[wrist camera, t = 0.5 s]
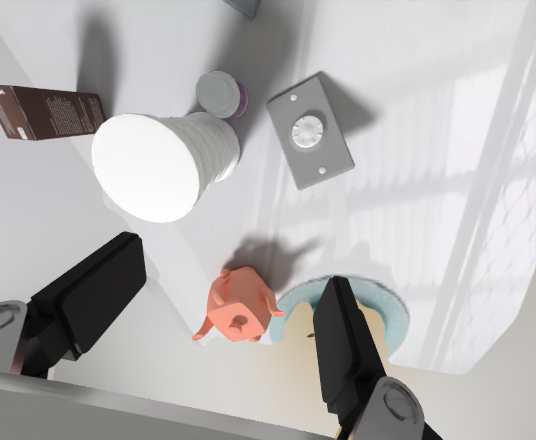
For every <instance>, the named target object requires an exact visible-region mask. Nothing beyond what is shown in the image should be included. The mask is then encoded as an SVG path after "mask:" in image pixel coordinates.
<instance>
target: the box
mask: <svg viewBox="0 0 536 440" xmlns="http://www.w3.org/2000/svg"><path fill="white" fill-rule="evenodd" d="M104 122H106V120H105V117H104V114H103V110H102V107H101V104H100V101H99V97H98V94H89V93H80V92H70V91H60V90H49V89H39V88H29V87H20V86H7V85H0V124H1V126H2V128H3V130H4V132H5V133H6V136H7V137H8V138H9V139H22V140H34V141H38V140H45V139H53V138H62V137H71V136H79V135H88V134H96V132H97V130H98V129H99V127H100V126H101V124H103V123H104Z"/></svg>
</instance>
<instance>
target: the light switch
mask: <svg viewBox="0 0 536 440" xmlns="http://www.w3.org/2000/svg"><path fill="white" fill-rule="evenodd" d="M266 107H267V110H268V112H269V115H270V118H271V120H272V123H273V125H274V128H275V131H276V133H277V136H278V139H279V141H280V144H281V147H282V149H283V152H284V155H285V157H286V160H287V163H288V165H289V168H290V171H291V173H292V176H293V178H294V181H295V184H296V186H297V189H298V190H303V189H305V188H308V187H310V186H312V185H315V184H317V183H320V182H322V181H325V180H327V179H330V178H332V177H334V176H337V175H339V174H342V173H344V172H347V171H349V170H352V169H353V168H354V167H355V164H354V161H353V159H352V157H351V154H350V152H349V149H348V147H347V144H346V142H345V139H344V137H343V135H342V132H341V130H340V127H339V125H338V122H337V120H336V118H335V115H334V113H333V110H332V108H331V105H330V103H329V100H328V98H327V96H326V93H325V91H324V88H323V86H322V83H321V81H320V79H319V77H318V76H316V77H314V78H312V79H310V80H308V81H306V82H305V83H303V84H301V85H299V86H297V87H296V88H294V89H292V90H290V91H288V92H287V93H285V94H283V95H281V96H279V97H278V98H276V99H274V100H272V101H270V102H268V103H267V104H266Z"/></svg>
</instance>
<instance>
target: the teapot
mask: <svg viewBox="0 0 536 440" xmlns="http://www.w3.org/2000/svg"><path fill="white" fill-rule="evenodd" d="M272 315H274V316H284V315H286V313H285V312H283V311H280V310H278V309H277V306H276V299H275V295H274V293H273V292H272V291H271V289H269V288H268V287H267V285H266V284H265V282H264V281H263V279H262V278H261V277H260V276H259V275H258V274H257V273H256V271H255V269H254V268H253V267H243V268H239V269H237V270H234V271H230V270H228V269H223V270H222V271H221V276H220V277H218V278H217V279H216V280H215V281H214V282H213V283H212V286H211V288H210V292H209V296H208V302H207V316H206V318H205V321H204V323H203V326H202V327H201V329H200V330H199V332H198V333H197V334H196V335H194V336H193V338H192V340H199V339H201V338H202V337H204V336H205V335H206V334H207V333H208V331H209V330H210V329H211V328H212V326H213V325H215V327H216V328H217V329H218V330H219V331H220V332H221V333H222V334H223V335H224V336H226V337H227V338H228V339H230V340H231V341H233V342H236V341H241V340H245V339H249V341H251V342H257V341H259V340H260V338H261V335H262V334H264V333H265V332H266V330H267V328H268V325H269V323H270V320H271V316H272Z"/></svg>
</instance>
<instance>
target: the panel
mask: <svg viewBox="0 0 536 440" xmlns="http://www.w3.org/2000/svg"><path fill="white" fill-rule="evenodd" d="M223 1H224V2H226V3H227V4H229V5H231V6H232V7H234V8H235V9H237V10H238V11H240V12H242V13H243V14H245V15H246V16H248V17H249V18H251V19H253V17H254V14H255V12H256V9H257V6H258V3H259V0H223Z"/></svg>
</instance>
